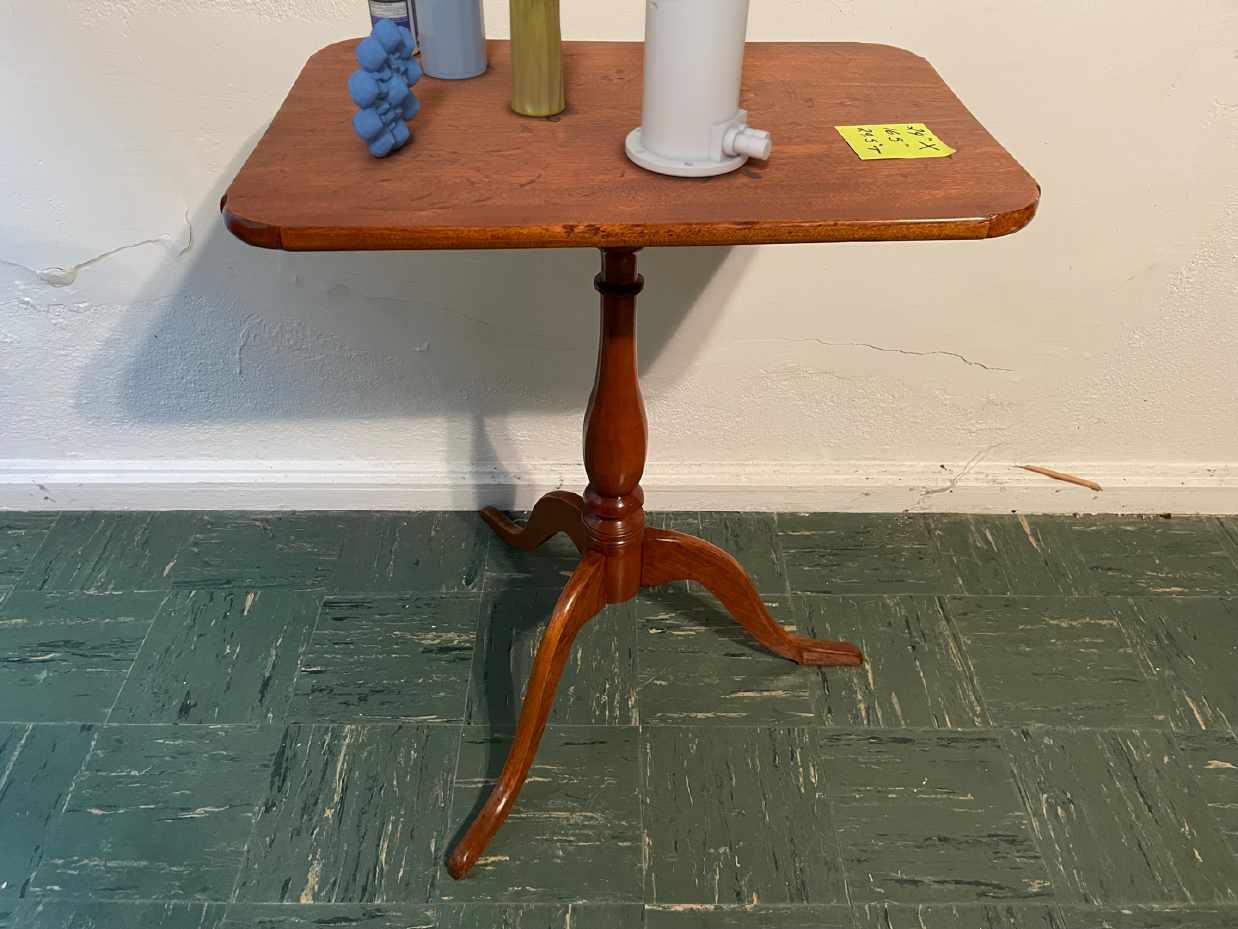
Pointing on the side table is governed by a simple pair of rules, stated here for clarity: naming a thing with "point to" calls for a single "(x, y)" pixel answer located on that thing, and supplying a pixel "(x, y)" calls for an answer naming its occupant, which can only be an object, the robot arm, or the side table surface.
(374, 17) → the pill bottle
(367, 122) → the grapes
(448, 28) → the cup
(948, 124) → the side table surface
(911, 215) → the side table surface
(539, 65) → the vase
